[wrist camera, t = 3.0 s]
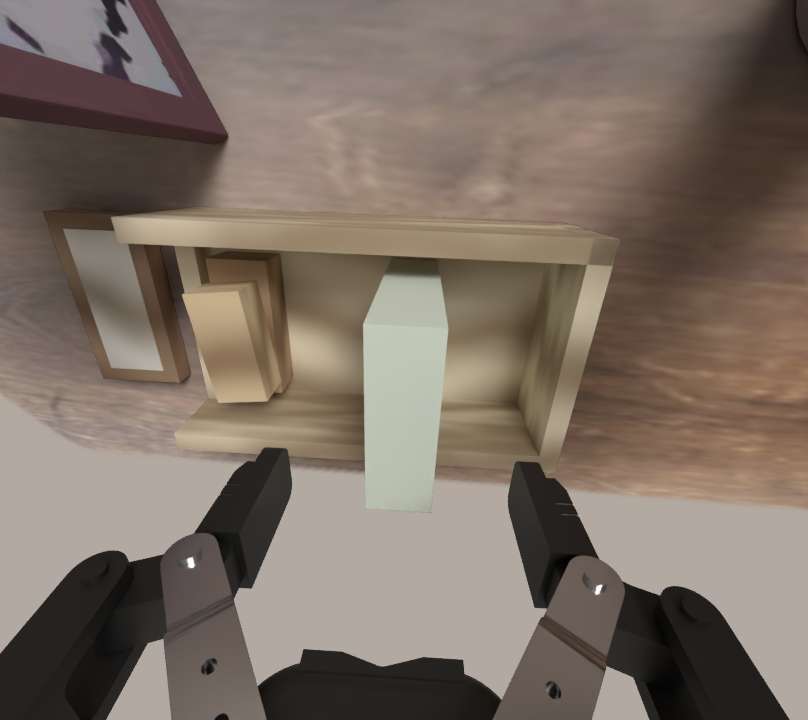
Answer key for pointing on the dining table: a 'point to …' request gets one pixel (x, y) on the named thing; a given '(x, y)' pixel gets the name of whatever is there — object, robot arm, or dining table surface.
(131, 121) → the picture frame
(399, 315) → the pale green slanted prism
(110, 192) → the dining table surface
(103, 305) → the board
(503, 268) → the tray
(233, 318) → the offcut upper
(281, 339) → the offcut lower
